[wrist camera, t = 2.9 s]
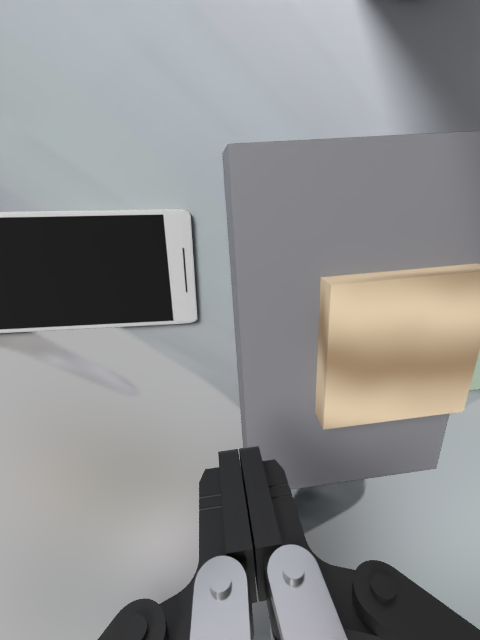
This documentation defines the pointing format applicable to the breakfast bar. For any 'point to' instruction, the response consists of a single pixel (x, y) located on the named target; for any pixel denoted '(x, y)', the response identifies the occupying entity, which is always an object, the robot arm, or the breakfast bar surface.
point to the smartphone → (96, 269)
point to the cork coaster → (396, 344)
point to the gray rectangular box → (335, 260)
